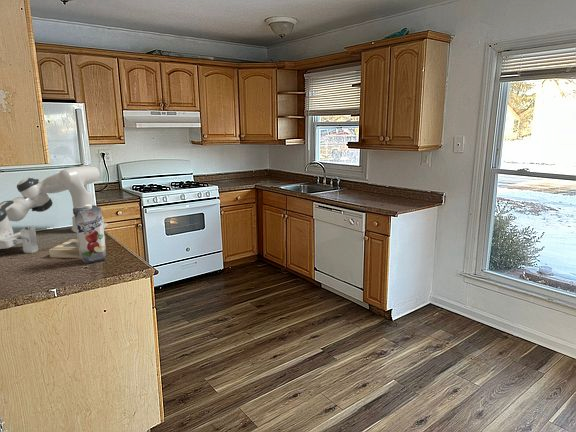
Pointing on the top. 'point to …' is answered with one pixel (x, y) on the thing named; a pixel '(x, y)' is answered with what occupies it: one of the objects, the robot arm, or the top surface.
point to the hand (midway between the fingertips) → (31, 239)
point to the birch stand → (66, 250)
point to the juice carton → (90, 233)
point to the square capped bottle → (29, 239)
